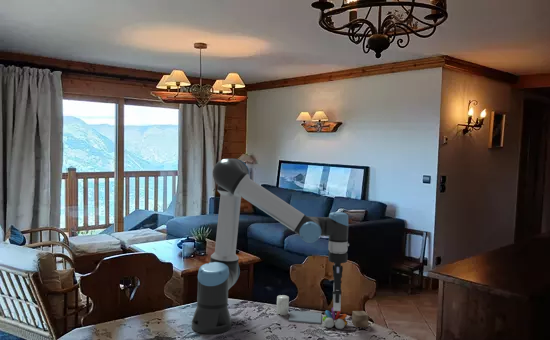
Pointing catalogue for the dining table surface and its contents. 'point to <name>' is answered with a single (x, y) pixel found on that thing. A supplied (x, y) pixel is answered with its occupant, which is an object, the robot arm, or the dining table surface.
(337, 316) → the rainbow wheeled toy
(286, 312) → the white glossy rounded part
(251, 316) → the dining table surface
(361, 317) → the walnut block
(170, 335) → the dining table surface
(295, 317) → the felt mat
